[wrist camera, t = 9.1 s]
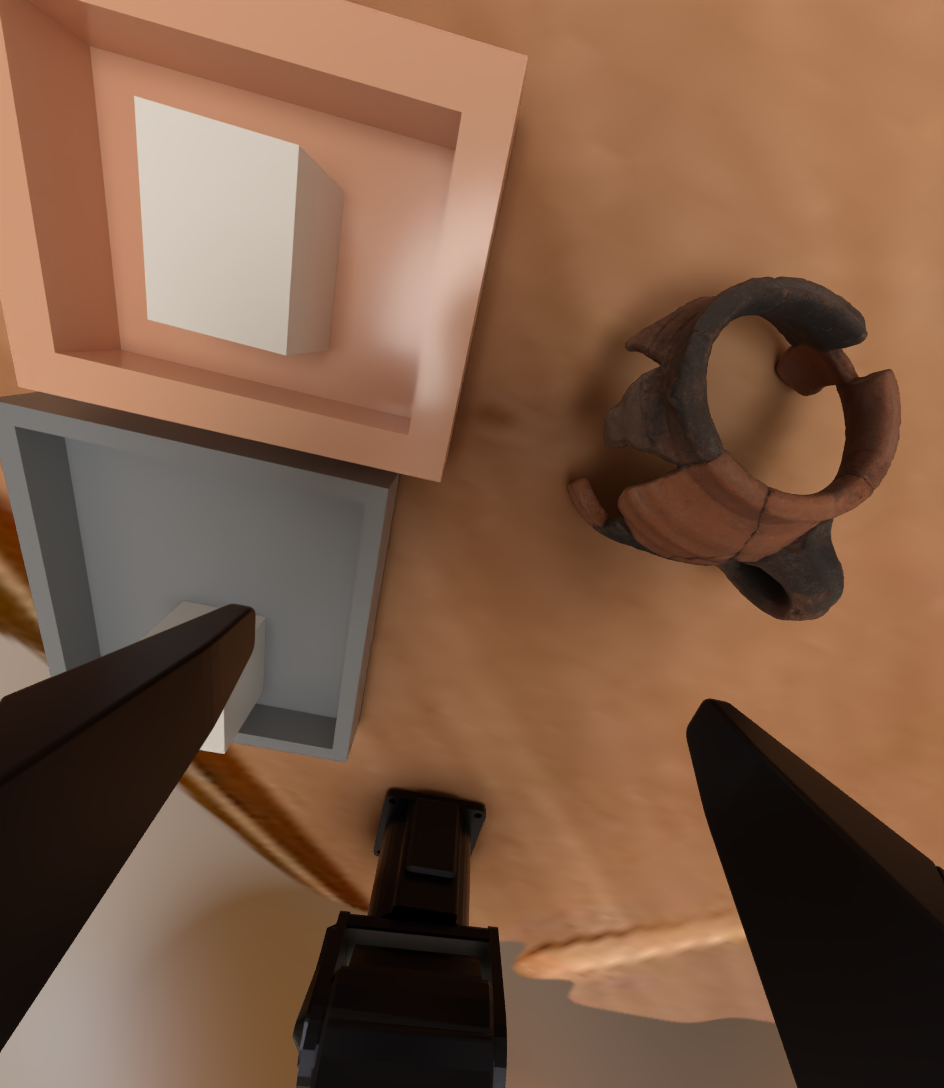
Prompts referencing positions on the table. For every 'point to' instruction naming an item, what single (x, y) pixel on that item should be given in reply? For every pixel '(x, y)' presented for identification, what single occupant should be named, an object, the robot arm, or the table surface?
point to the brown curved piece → (717, 478)
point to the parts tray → (202, 551)
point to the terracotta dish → (287, 114)
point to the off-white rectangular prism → (246, 686)
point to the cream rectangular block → (236, 232)
